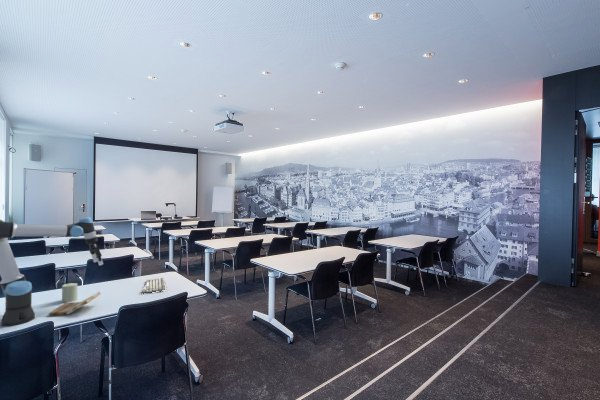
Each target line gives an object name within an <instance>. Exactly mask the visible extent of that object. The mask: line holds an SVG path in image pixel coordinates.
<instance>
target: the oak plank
mask: <svg viewBox="0 0 600 400" xmlns="http://www.w3.org/2000/svg"><path fill="white" fill-rule="evenodd" d="M101 294H102V293H101V292H100V291H98V292H96V293H94V294H93V295H91V296H89V297H87V298H86V299H84V300H82V301H79V302H80V303H78V304H77V305H75V306H74V307H72V308H71V309H69V310H68V311H66V315H69V314H71V313H73V312H74V311H76V310H78V309H80V308H81V307H83V306H86V305H87V304H89V303H90V302H92V301H93V300H94V299H96V298H98V297H99V296H100V295H101Z"/></svg>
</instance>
